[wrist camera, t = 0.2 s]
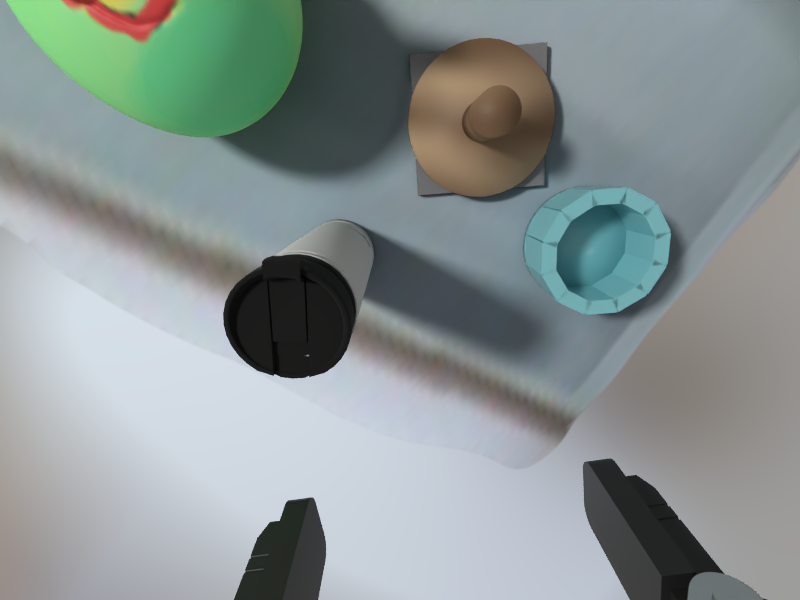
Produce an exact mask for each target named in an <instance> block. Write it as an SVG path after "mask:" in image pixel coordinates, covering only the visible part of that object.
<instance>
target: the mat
mask: <svg viewBox="0 0 800 600" xmlns="http://www.w3.org/2000/svg"><path fill="white" fill-rule="evenodd" d="M516 46H518V47H520V48H521V49H523V50H524V51H526V52H527V53H528V54H529V55H530V56H532V57H533V58H534V59H535V60H536V62H537V63H538V64H539V65H540V67H541V68H542V70H543V71H544V73H545V75H546V77H547V43H535V44H524V45H516ZM444 52H445V51H444ZM442 53H443V52H433V53H421V54H410V55H409V58H410V74H411V89H412V96H413V93H414V90H415V88H416V85H417V83H418V82H419V80H420V78H421V76H422V75H423V73H424V72H425V70H426V69H427V68H428V66H429V65H430V64H431V63H432V62H433V61H434V60H435V59H436V58H437V57H438V56H439V55H441V54H442ZM416 168H417V184H418V195H429V194H441V193H454V192H452V191H449V190H447V189H445V188H443V187H442V186H440V185H439V184H437V183H436V182H435V181H433V180H432V179H431V178H430V177H429V176H428V175H427V174H426V173H425V171H424V170H423V168H422V167H421V166H420V164H419V162H418V160H417V159H416ZM544 168H545V154H544V156H543V158H542V159H541V161H540V163H539V164H538V165H537V167H536V168H535V169H534V170H533V171H532V172H531V173H530V174H529V175H528V176H527V177H526V178H525V179H524V180H523V181H521V182H520V183H519V184H517V185H516V186H514V187H512V188H516V187H528V186H540V185H544Z"/></svg>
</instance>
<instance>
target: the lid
mask: <svg viewBox="0 0 800 600" xmlns="http://www.w3.org/2000/svg"><path fill="white" fill-rule="evenodd" d="M554 121H555V104H554V98H553V93H552V89H551V86H550V83H549V81H548V79H547V77H546V75H545V73H544V71H543V70H542V68H541V67H540V65H539V64H538V63H537V62H536V60H535V59H534V58H533V57H532V56H530V55H529V54H528V53H527V52H526V51H524V50H523V49H521V48H520V47H518V46H516V45H514V44H512V43H510V42H506V41H503V40H499V39H492V38H479V39H473V40H468V41H465V42H462V43H459V44H457V45H455V46H453V47H451V48H449V49H448V50H446V51H445V52H443V53H442V54H441V55H439V56H438V57H437V58H436V59H435V60H434V61H433V62H432V63H431V64H430V65H429V66H428V68H427V69H426V70H425V72H424V73H423V75H422V76H421V78H420V80H419V82H418V83H417V85H416V88H415V90H414V93H413V96H412V99H411V103H410V108H409V117H408V130H409V138H410V142H411V146H412V149H413V152H414V154H415V157H416V159H417V160H418V162H419V164H420V166H421V167H422V168H423V170H424V171H425V173H426V174H427V175H428V176H429V177H430V178H431V179H432V180H433V181H435V182H436V183H437V184H439V185H440V186H442V187H443V188H445V189H447V190H449V191H452V192H454V193H457V194H461V195H464V196H472V197H484V196H491V195H495V194H498V193H502V192H504V191H506V190H508V189H510V188H512V187H514V186H516V185H517V184H519V183H520V182H521V181H523V180H524V179H525V178H526V177H527V176H528V175H529V174H530V173H531V172H532V171H533V170H534V169H535V168H536V167H537V165H538V164H539V163H540V161H541V159H542V158H543V156H544V154H545V152H546V150H547V148H548V146H549V143H550V140H551V137H552V133H553V128H554Z"/></svg>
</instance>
